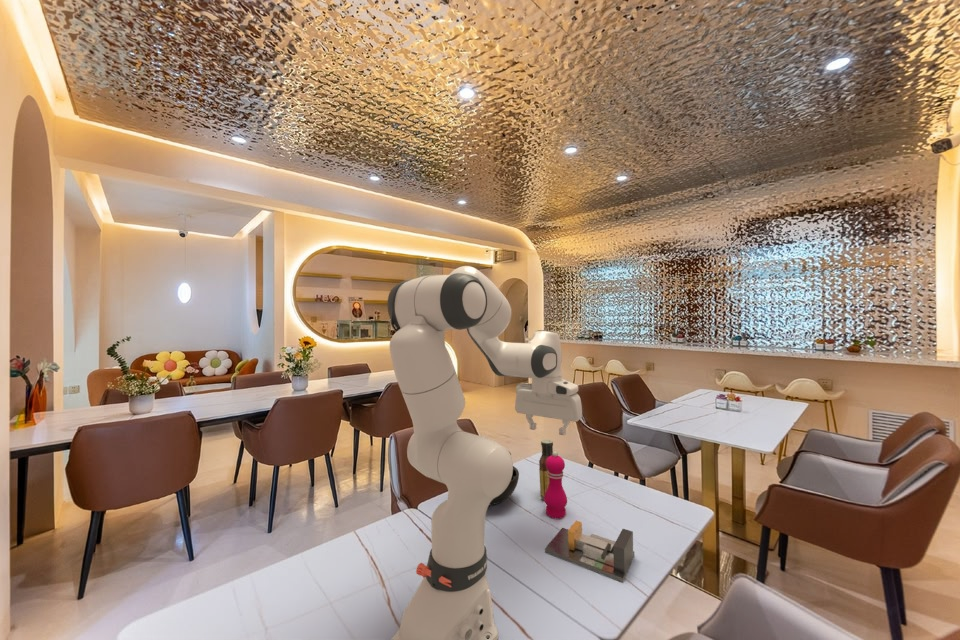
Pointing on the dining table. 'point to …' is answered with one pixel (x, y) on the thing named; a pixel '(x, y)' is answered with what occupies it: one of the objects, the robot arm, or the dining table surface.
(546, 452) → the sauce bottle
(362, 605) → the dining table surface
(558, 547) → the bench
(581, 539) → the plunger
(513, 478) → the coal bowl
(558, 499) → the pepper mill
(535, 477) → the dining table surface
